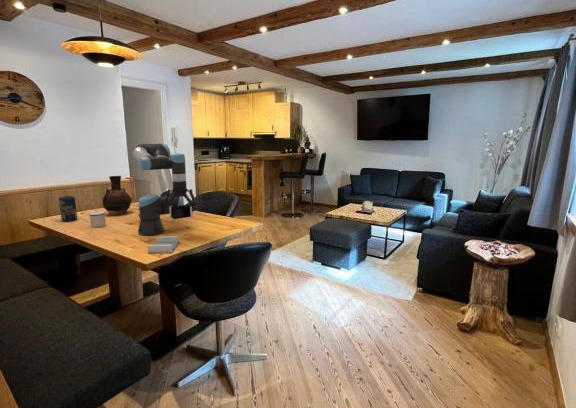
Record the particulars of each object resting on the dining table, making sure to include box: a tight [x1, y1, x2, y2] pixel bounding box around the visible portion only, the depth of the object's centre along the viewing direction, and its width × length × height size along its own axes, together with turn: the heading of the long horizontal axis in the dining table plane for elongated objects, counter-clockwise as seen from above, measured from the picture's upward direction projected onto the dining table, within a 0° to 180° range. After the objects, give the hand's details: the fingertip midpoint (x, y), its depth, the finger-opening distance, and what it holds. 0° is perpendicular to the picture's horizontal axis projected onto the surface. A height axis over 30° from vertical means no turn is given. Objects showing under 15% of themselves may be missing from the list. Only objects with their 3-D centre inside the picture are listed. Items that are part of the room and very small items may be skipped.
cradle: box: [146, 235, 180, 254], centre depth 172 cm, size 12×16×4 cm
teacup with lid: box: [88, 208, 107, 229], centre depth 212 cm, size 12×9×12 cm
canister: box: [58, 195, 78, 222], centre depth 225 cm, size 10×10×18 cm
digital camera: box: [171, 204, 191, 220], centre depth 188 cm, size 10×5×7 cm, turn 125°
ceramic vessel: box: [102, 175, 132, 216], centre depth 244 cm, size 21×18×30 cm
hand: (181, 217), depth 188 cm, fingers closed on digital camera, 11 cm apart
